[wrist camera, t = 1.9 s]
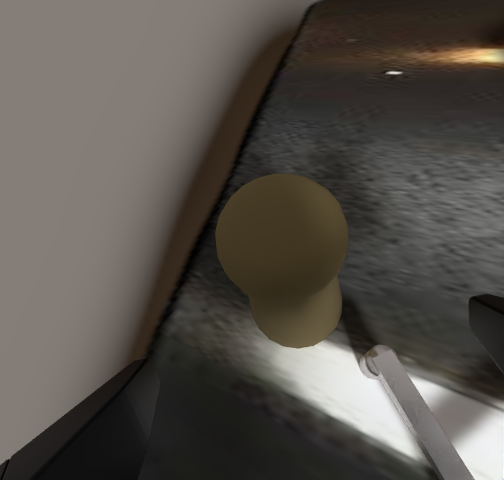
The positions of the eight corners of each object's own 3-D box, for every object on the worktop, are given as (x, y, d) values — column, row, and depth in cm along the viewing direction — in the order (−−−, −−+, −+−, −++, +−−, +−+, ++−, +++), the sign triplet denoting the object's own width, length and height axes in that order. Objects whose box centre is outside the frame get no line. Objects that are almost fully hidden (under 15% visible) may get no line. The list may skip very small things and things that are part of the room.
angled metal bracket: (648, 610, 12) (780, 695, 8) (347, 504, 15) (355, 536, 12) (603, 403, 15) (687, 405, 11) (360, 350, 18) (370, 340, 15)
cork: (234, 294, 21) (165, 210, 12) (301, 243, 22) (288, 125, 12) (288, 369, 18) (256, 341, 9) (363, 307, 19) (408, 219, 9)
